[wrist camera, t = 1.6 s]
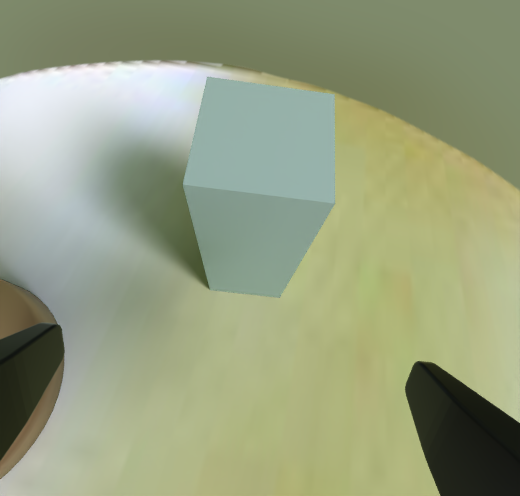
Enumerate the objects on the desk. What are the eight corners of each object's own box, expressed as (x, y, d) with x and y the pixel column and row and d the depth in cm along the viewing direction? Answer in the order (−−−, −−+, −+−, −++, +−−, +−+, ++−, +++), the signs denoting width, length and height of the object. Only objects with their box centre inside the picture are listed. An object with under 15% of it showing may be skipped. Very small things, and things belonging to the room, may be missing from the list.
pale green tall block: (283, 235, 24) (334, 94, 12) (279, 297, 22) (335, 203, 10) (220, 227, 24) (207, 76, 12) (210, 290, 22) (182, 184, 10)
